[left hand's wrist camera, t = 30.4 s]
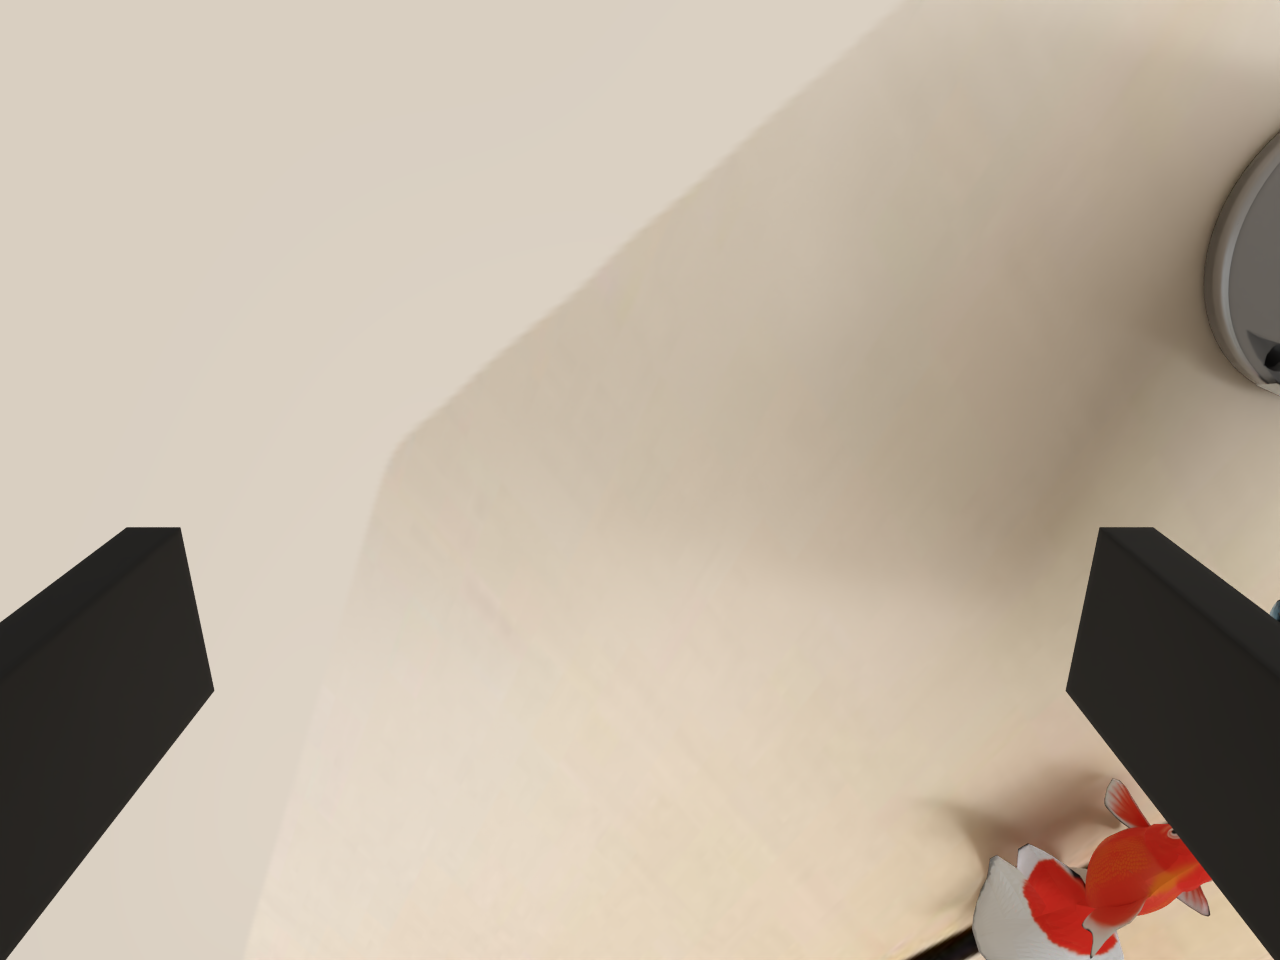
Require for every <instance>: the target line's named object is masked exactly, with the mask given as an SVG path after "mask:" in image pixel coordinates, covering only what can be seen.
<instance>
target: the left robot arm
mask: <svg viewBox="0 0 1280 960" xmlns="http://www.w3.org/2000/svg"><path fill="white" fill-rule="evenodd" d="M1204 298H1205V305H1206V312H1207V316H1208V320H1209V323H1210V327H1211V329H1212V332H1213V334H1214V337H1215V339H1216V341H1217V343H1218V345H1219V347H1220V348H1221V350H1222V352H1223V353H1224V354H1225V356H1226V357H1227V359H1228V360H1229V361H1230V362H1231V363H1232V365H1233V366H1234V367H1235V368H1236V369H1237V370H1238V371H1239V372H1240V373H1242V374H1243V375H1244V376H1245V377H1246V378H1248V379H1249V380H1251V381H1252V382H1254V383H1255V384H1257V386H1259V387H1261V388H1264V389H1266V390H1268V391H1270V392H1272V393H1274V394H1276V395H1278V396H1280V132H1279V133H1278V134H1277V135H1276V136H1275V137H1274V138H1273V139H1272V140H1271V141H1270V142H1269V143H1268V144H1267V145H1266V146H1265V147H1264V148H1263V149H1262V150H1261V151H1260V152H1259V154H1258V155H1257V156H1256V157H1255V158H1254V159H1253V161H1252V162H1251V163H1250V165H1249V166H1248V167H1247V168H1246V170H1245V171H1244V172H1243V174H1242V175H1241V177H1240V178H1239V180H1238V181H1237V183H1236V184H1235V186H1234V187H1233V189H1232V191H1231V193H1230V195H1229V196H1228V198H1227V200H1226V202H1225V204H1224V206H1223V208H1222V210H1221V212H1220V215H1219V217H1218V219H1217V222H1216V225H1215V227H1214V230H1213V233H1212V236H1211V240H1210V244H1209V248H1208V252H1207V258H1206V264H1205V274H1204ZM213 692H214V687H213V682H212V677H211V672H210V668H209V663H208V658H207V653H206V648H205V644H204V639H203V634H202V629H201V624H200V620H199V615H198V610H197V605H196V600H195V595H194V591H193V586H192V581H191V576H190V571H189V567H188V562H187V557H186V552H185V547H184V543H183V538H182V533H181V528H180V527H127V528H125V529H124V530H123V531H121V532H120V533H119V534H117V535H116V536H115V537H113V538H112V539H111V540H109V541H108V542H107V543H105V544H104V545H103V546H101V547H100V548H99V549H97V550H96V551H95V552H93V553H92V554H91V555H89V556H88V557H87V558H85V559H84V560H83V561H81V562H80V563H79V564H77V565H76V566H75V567H73V568H72V569H71V570H69V571H68V572H67V573H65V574H64V575H63V576H61V577H60V578H59V579H57V580H56V581H55V582H53V583H52V584H51V585H49V586H48V587H47V588H45V589H44V590H43V591H41V592H40V593H39V594H37V595H36V596H35V597H34V598H32V599H31V600H30V601H28V602H27V603H25V604H24V605H23V606H22V607H20V608H19V609H18V610H16V611H15V612H14V613H12V614H11V615H10V616H8V617H7V618H6V619H4V620H3V621H2V622H0V960H6V959H7V957H8V956H9V955H10V954H11V952H12V951H13V950H14V948H15V947H16V946H17V944H18V943H19V942H20V941H21V939H22V938H23V937H24V936H25V934H26V933H27V932H28V930H29V929H30V928H31V926H32V925H33V924H34V923H35V921H36V920H37V919H38V917H39V916H40V915H41V914H42V912H43V911H44V910H45V908H46V907H47V906H48V905H49V903H50V902H51V901H52V899H53V898H54V897H55V896H56V894H57V893H58V892H59V890H60V889H61V888H62V886H63V885H64V884H65V883H66V881H67V880H68V879H69V877H70V876H71V875H72V874H73V872H74V871H75V870H76V868H77V867H78V866H79V865H80V863H81V862H82V861H83V859H84V858H85V857H86V856H87V854H88V853H89V852H90V850H91V849H92V848H93V847H94V845H95V844H96V843H97V841H98V840H99V839H100V837H101V836H102V835H103V834H104V832H105V831H106V830H107V828H108V827H109V826H110V825H111V823H112V822H113V821H114V819H115V818H116V817H117V816H118V814H119V813H120V812H121V810H122V809H123V808H124V807H125V805H126V804H127V803H128V801H129V800H130V799H131V798H132V796H133V795H134V794H135V792H136V791H137V790H138V788H139V787H140V786H141V785H142V783H143V782H144V781H145V779H146V778H147V777H148V776H149V774H150V773H151V772H152V770H153V769H154V768H155V767H156V765H157V764H158V763H159V761H160V760H161V759H162V757H163V756H164V755H165V754H166V752H167V751H168V750H169V748H170V747H171V746H172V745H173V743H174V742H175V741H176V739H177V738H178V737H179V735H180V734H181V733H182V732H183V730H184V729H185V728H186V727H187V725H188V724H189V723H190V721H191V720H192V719H193V717H194V716H195V715H196V714H197V712H198V711H199V710H200V708H201V707H202V706H203V705H204V703H205V702H206V701H207V699H208V698H209V697H210V696H211V694H212V693H213ZM1066 692H1067V693H1068V694H1069V696H1070V697H1071V698H1072V699H1073V701H1074V702H1075V703H1076V705H1077V706H1078V707H1079V709H1080V710H1081V711H1082V712H1083V714H1084V715H1085V716H1086V718H1087V719H1088V720H1089V721H1090V723H1091V724H1092V725H1093V727H1094V728H1095V729H1096V730H1097V732H1098V733H1099V734H1100V736H1101V737H1102V738H1103V739H1104V741H1105V742H1106V743H1107V745H1108V746H1109V747H1110V748H1111V750H1112V751H1113V752H1114V754H1115V755H1116V756H1117V758H1118V759H1119V760H1120V761H1121V763H1122V764H1123V765H1124V767H1125V768H1126V769H1127V770H1128V772H1129V773H1130V774H1131V776H1132V777H1133V778H1134V779H1135V781H1136V782H1137V783H1138V785H1139V786H1140V787H1141V788H1142V790H1143V791H1144V792H1145V794H1146V795H1147V796H1148V798H1149V799H1150V800H1151V801H1152V803H1153V804H1154V805H1155V807H1156V808H1157V809H1158V810H1159V812H1160V813H1161V814H1162V816H1163V817H1164V818H1165V819H1166V821H1167V822H1168V823H1169V825H1170V826H1171V827H1172V828H1173V830H1174V831H1175V832H1176V834H1177V835H1178V836H1179V837H1180V839H1181V840H1182V841H1183V843H1184V844H1185V845H1186V847H1187V848H1188V849H1189V850H1190V852H1191V853H1192V854H1193V856H1194V857H1195V858H1196V859H1197V861H1198V862H1199V863H1200V865H1201V866H1202V867H1203V868H1204V870H1205V871H1206V872H1207V874H1208V875H1209V876H1210V877H1211V879H1212V880H1213V881H1214V883H1215V884H1216V885H1217V887H1218V888H1219V889H1220V890H1221V892H1222V893H1223V894H1224V896H1225V897H1226V898H1227V899H1228V901H1229V902H1230V903H1231V905H1232V906H1233V907H1234V908H1235V910H1236V911H1237V912H1238V914H1239V915H1240V916H1241V917H1242V919H1243V920H1244V921H1245V923H1246V924H1247V925H1248V926H1249V928H1250V929H1251V930H1252V932H1253V933H1254V934H1255V936H1256V937H1257V938H1258V939H1259V941H1260V942H1261V943H1262V945H1263V946H1264V947H1265V948H1266V950H1267V951H1268V952H1269V954H1270V955H1271V956H1272V957H1273V959H1274V960H1280V600H1278V601H1277V602H1276V604H1275V605H1274V606H1273V608H1272V610H1271V612H1270V615H1269V614H1268V613H1266V612H1265V611H1264V610H1262V609H1261V608H1260V607H1259V606H1257V605H1256V604H1255V603H1253V602H1252V601H1251V600H1249V599H1248V598H1247V597H1245V596H1244V595H1243V594H1241V593H1240V592H1239V591H1237V590H1236V589H1235V588H1233V587H1232V586H1231V585H1229V584H1228V583H1227V582H1225V581H1224V580H1223V579H1221V578H1220V577H1219V576H1217V575H1216V574H1215V573H1213V572H1212V571H1211V570H1209V569H1208V568H1207V567H1205V566H1204V565H1203V564H1201V563H1200V562H1199V561H1197V560H1196V559H1195V558H1193V557H1192V556H1191V555H1189V554H1188V553H1187V552H1185V551H1184V550H1183V549H1181V548H1180V547H1179V546H1177V545H1176V544H1175V543H1173V542H1172V541H1171V540H1169V539H1168V538H1167V537H1165V536H1164V535H1163V534H1161V533H1160V532H1159V531H1157V530H1156V529H1155V528H1153V527H1100V528H1099V533H1098V538H1097V543H1096V547H1095V552H1094V557H1093V562H1092V567H1091V571H1090V576H1089V581H1088V586H1087V591H1086V595H1085V600H1084V605H1083V610H1082V615H1081V619H1080V624H1079V629H1078V634H1077V639H1076V644H1075V648H1074V653H1073V658H1072V663H1071V668H1070V672H1069V677H1068V682H1067V687H1066Z"/></svg>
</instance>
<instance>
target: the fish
mask: <svg viewBox="0 0 1280 960" xmlns="http://www.w3.org/2000/svg"><path fill="white" fill-rule="evenodd" d="M1105 806H1106V808H1107V809H1108V810H1109V811H1110V812H1111V813H1112V814H1113V815H1114V816H1115V817H1116V818H1117V819H1118V820H1119V821H1120V822H1122V823H1123V824H1124V825H1126V826H1127V827H1128V829H1125V830H1122V831H1120V832H1118V833H1116V834H1113V835H1111V836H1109V837H1108V838H1106V839H1105V840H1104V841H1102V842H1101V843H1100V845H1099V846H1098V847H1097V848H1096V850H1095V851H1094V853H1093V855H1092V857H1091V859H1090V862H1089V865H1088V869H1083V868H1074V867H1068V866H1066V865H1065V864H1063V863H1062V862H1060V861H1059V860H1058V859H1056V858H1055V857H1053V856H1052V855H1050V854H1048V853H1046V852H1045V851H1043V850H1041V849H1039V848H1037V847H1035V846H1033V845H1030V844H1026V845H1024V846H1023V847H1021V848H1019V849H1018V861H1017V868H1016V867H1015V866H1013V865H1012V864H1010V863H1008V862H1007V861H1005V860H1004V859H1002V858H1001V857H999V856H997V855H996V856H994V857H992V858H990V863H989V870H988V875H987V879H986V881H985V883H984V885H983V887H982V889H981V891H980V894H979V897H978V900H977V903H976V908H975V912H974V916H973V925H972V930H973V933H974V937H975V940H976V943H977V947H978V950H979V952H980V953H981V954H982V956H983V957H984V958H985V959H986V960H1124V956H1123V951H1122V948H1121V944H1120V941H1119V937H1118V934H1117V931H1116V930H1118V929H1120V928H1122V927H1123V926H1125V925H1127V924H1129V923H1131V922H1132V921H1133V919H1134V918H1135V917H1136V916H1138V915H1144V914H1148V913H1151V912H1154V911H1157V910H1159V909H1161V908H1163V907H1165V906H1167V905H1168V904H1169V903H1171V902H1172V901H1173V900H1174V899H1175V898H1178V899H1179V900H1180V901H1182V902H1183V903H1185V904H1186V905H1187V906H1189V907H1190V908H1192V909H1194V910H1195V911H1197V912H1198V913H1200V914H1202V915H1205V916H1210V911H1209V906H1208V903H1207V900H1206V898H1205V896H1204V894H1203V891H1202V889H1201V886H1200V885H1202V884H1203V883H1205V882H1210V881H1212V879H1211V877H1210V876H1209V875H1208V874H1207V872H1206V871H1205V870H1204V868H1203V867H1202V866H1201V865H1200V863H1199V862H1198V861H1197V859H1196V858H1195V857H1194V856H1193V854H1192V853H1191V852H1190V850H1189V849H1188V848H1187V847H1186V845H1185V844H1184V843H1183V841H1182V840H1181V839H1180V837H1179V836H1178V835H1177V834H1176V832H1175V831H1174V830H1173V828H1172V827H1171V826H1170V825H1169V824H1153V825H1150V824H1149V823H1148V821H1147V820H1146V818H1145V817H1144V815H1143V814H1142V812H1141V811H1140V809H1139V808H1138V806H1137V804H1136V803H1135V801H1134V800H1133V798H1132V796H1131V795H1130V793H1129V791H1128V790H1127V788H1126V787H1125V786H1124V785H1123V784H1122V783H1121V781H1119V780H1116V779H1112V780H1111V782H1110V784H1109V786H1108V787H1107V791H1106V795H1105Z"/></svg>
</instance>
